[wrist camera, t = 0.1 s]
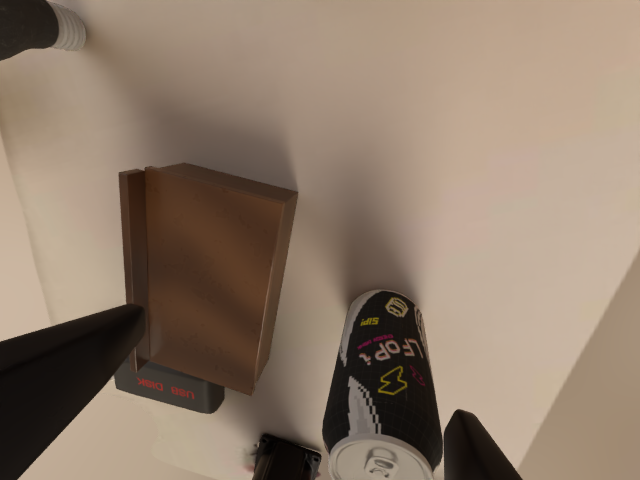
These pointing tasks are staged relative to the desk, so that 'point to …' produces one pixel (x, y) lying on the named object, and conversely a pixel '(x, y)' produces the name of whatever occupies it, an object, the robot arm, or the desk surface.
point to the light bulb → (38, 27)
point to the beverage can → (382, 395)
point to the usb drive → (169, 387)
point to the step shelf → (205, 269)
